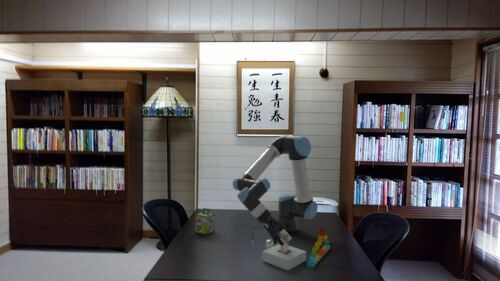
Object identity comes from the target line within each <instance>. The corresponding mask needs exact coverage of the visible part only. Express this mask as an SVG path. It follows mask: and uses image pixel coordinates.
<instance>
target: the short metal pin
mask: <svg viewBox="0 0 500 281" xmlns="http://www.w3.org/2000/svg"><path fill="white" fill-rule="evenodd" d="M265 240H266V242H265V243H266V244H265V250H266V249H269V248H271V247H273V246H274V240H273V238H267V239H265Z"/></svg>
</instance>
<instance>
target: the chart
mask: <svg viewBox="0 0 500 281" xmlns="http://www.w3.org/2000/svg"><path fill="white" fill-rule="evenodd" d="M317 234H318V235H317V241H315V243H314V246H312V248H311V253H310V255H309V257H306V260H307V259H308V261H307V263H306V267H307V268H310V269H311V268H312V269H313V268H314V267H315V266H316V265H317V264H318V262H319V261H320V260H321V259H323V256H325V255H326V253H328V251H329V250H330V248H331V246H330V245H329V243H331V241H330V240H328V238H329V237H328V236H327V235H325V228H321V227H320V228H318V233H317ZM323 244H324V245H323ZM321 246H322V247H321Z"/></svg>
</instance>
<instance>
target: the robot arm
mask: <svg viewBox="0 0 500 281" xmlns="http://www.w3.org/2000/svg"><path fill="white" fill-rule="evenodd" d="M311 150H312V145H311V141H310V140H309V139H308V138H307V137H306V136H301V135H289V134H288V135H285V134H284V135H281V136H279V137H276V138H275V139H273V141H271V142H270V143H269V144H268V145H267V146H266V150H265V151H264V152H263V153H262V154H261V155H260V156H259V157H258V158H257V159H256V160H255V161H254V163H253V164H252V165H250V167H249V168H248V169H247V170H246V171H245V173H244V174H243V175H242V176H239V177H238V176H237V177H235V178H234V179H233V181H232V188H233V189H234V190H235V191H238V192H239V193H238V194H237V199H238V200H239V201H240V203H241V204H242V205H243V206H244V207H245V208H246V209H247V210H248V211H249V212H250V214H251V216H253V217H254V218H256V220H257V221H258V222H259V224H263V223H264V225H263V227H264V228H265V230H266V231H267V233H268V234H269V235H270V237H271V239H272V240H273V243H277V244H280V246H281V247H282V248H283V249H284V250H285V251H287V250H288V249H289V248H290V247H289V246H290V245H289V244H288V245H287V244H286V243H285V241H284V240H283V239H282V238H281V236H280V235H279V233H280V234H281V233H295V232H298V231H299V226H298V221H297V217H298V218H301V219H304V220H312V219H314V217H315V216H316V215H317V212H318V206H319V205H318V203H317V202H316V201H314V198H313V195H311V194H310V185H309V183H310V182H309V176H308V168H307V166H308V165H307V159H308V158H309V155H310V153H311ZM281 155H288V160H290V161H291V166H292V173H293V180H294V181H293V182H294V188H295V193H292V194H291V193H288V194H286V193H285V194H281V195H279V197H278V208H277V209H278V211H277V212H278V213H277V214H278V216H277V219H275V218H274V217H273V216H272V213H271V212H270V210H269V209H267V208H266V206H265V205H264V204H263V202H261V201H260V199H261V198H262V197H263V196H264V195H265V194H267V192H268V191H269V190H270V189H271V182H270V180H268V179H267V178H265V177H261V175H263V173H264V172H265V171H266V169H267V168H268V167H269V166H270V165H271V164H272V163H273V161H275V159H277V158H279V157H281ZM259 177H260V179H259ZM278 232H279V233H278ZM292 239H293V238H292V237H291V235H290V234H289V242H290V241H291V240H292Z"/></svg>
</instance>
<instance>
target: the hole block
mask: <svg viewBox="0 0 500 281" xmlns="http://www.w3.org/2000/svg"><path fill="white" fill-rule="evenodd" d="M288 246H289V247H290V248H289V249H288V254H283V253H280V249H281V246H280V244H279V243H277V244H276V245H273V247H271V248H269V249H266V248H265V249H264V250H262V253H261V254H262V258H261V260H262V261H263V262H265V263H268V264H270V265H272V266H275V267H278V268H281V269H283V270H285V271H290V270H291V269H293V268H296V267H297V266H299V265H301V264H302V263H304V262H306V260H307V251H306V250H303V249H300V248H297V247H294V246H290V245H288Z"/></svg>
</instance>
